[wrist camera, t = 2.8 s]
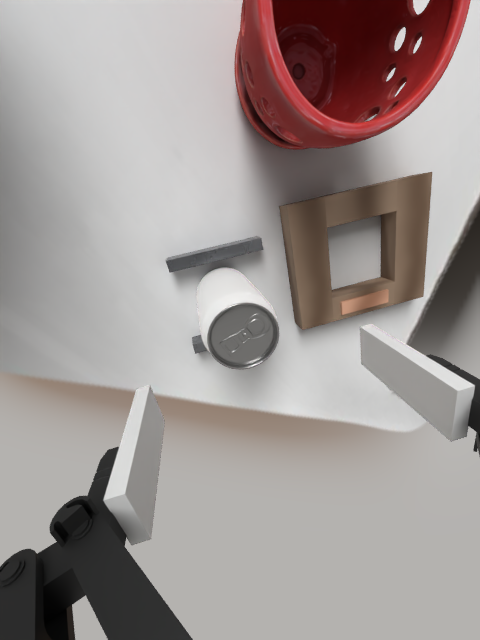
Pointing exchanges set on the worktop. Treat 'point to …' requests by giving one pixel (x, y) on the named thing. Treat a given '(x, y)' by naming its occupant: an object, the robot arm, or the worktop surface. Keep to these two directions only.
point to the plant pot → (339, 66)
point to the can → (235, 319)
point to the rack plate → (396, 248)
